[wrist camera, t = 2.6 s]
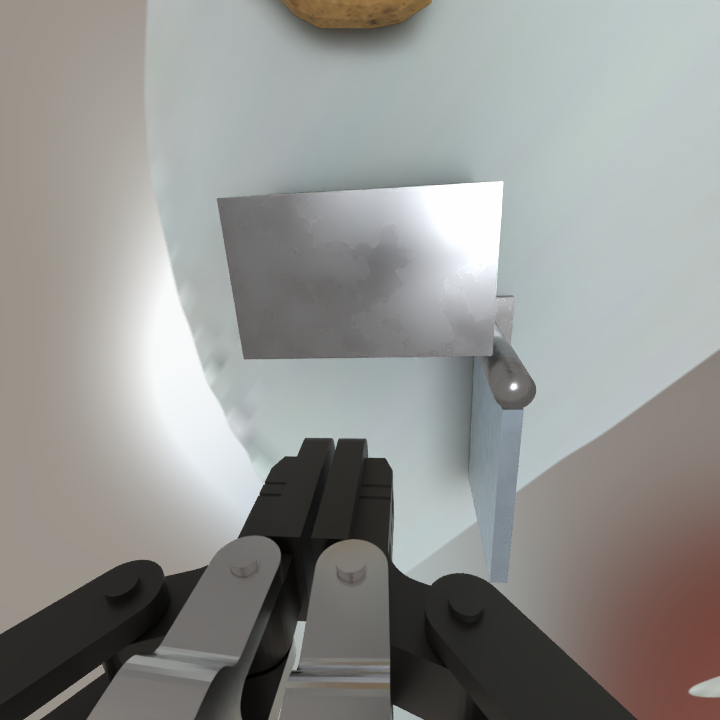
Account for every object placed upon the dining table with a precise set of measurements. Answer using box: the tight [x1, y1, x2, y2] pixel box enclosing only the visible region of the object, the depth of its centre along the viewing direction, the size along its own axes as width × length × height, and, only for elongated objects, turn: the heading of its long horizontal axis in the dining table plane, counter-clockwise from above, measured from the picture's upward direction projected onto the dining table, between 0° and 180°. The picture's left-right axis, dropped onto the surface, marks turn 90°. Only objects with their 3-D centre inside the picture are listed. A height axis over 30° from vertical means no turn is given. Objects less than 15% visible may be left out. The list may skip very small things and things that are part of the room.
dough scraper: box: [469, 321, 536, 583], centre depth 34 cm, size 16×2×12 cm, turn 3°
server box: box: [217, 181, 514, 359], centre depth 31 cm, size 20×14×11 cm
